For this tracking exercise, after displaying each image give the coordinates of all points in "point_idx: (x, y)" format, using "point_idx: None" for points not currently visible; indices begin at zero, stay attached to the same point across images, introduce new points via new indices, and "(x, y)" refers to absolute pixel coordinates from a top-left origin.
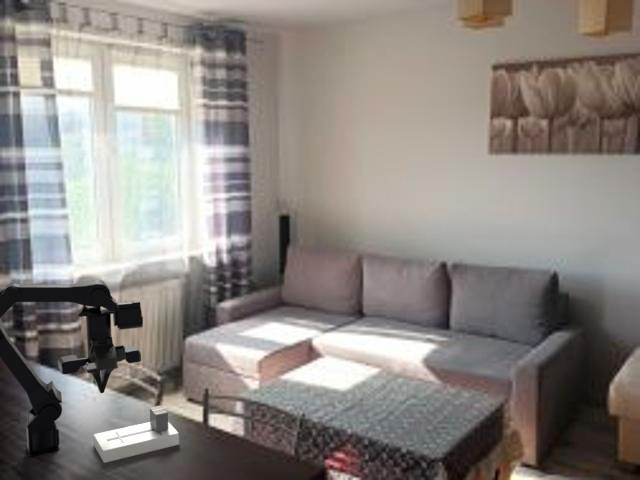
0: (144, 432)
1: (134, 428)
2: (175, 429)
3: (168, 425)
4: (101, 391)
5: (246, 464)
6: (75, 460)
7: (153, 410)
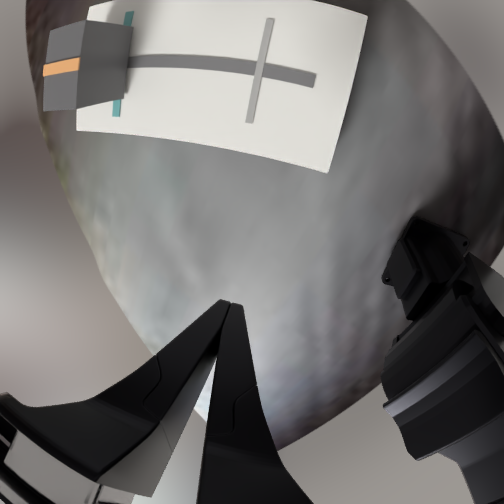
0: (163, 54)
1: (177, 110)
2: None
3: None
4: (234, 310)
5: None
6: (413, 120)
7: (74, 67)
